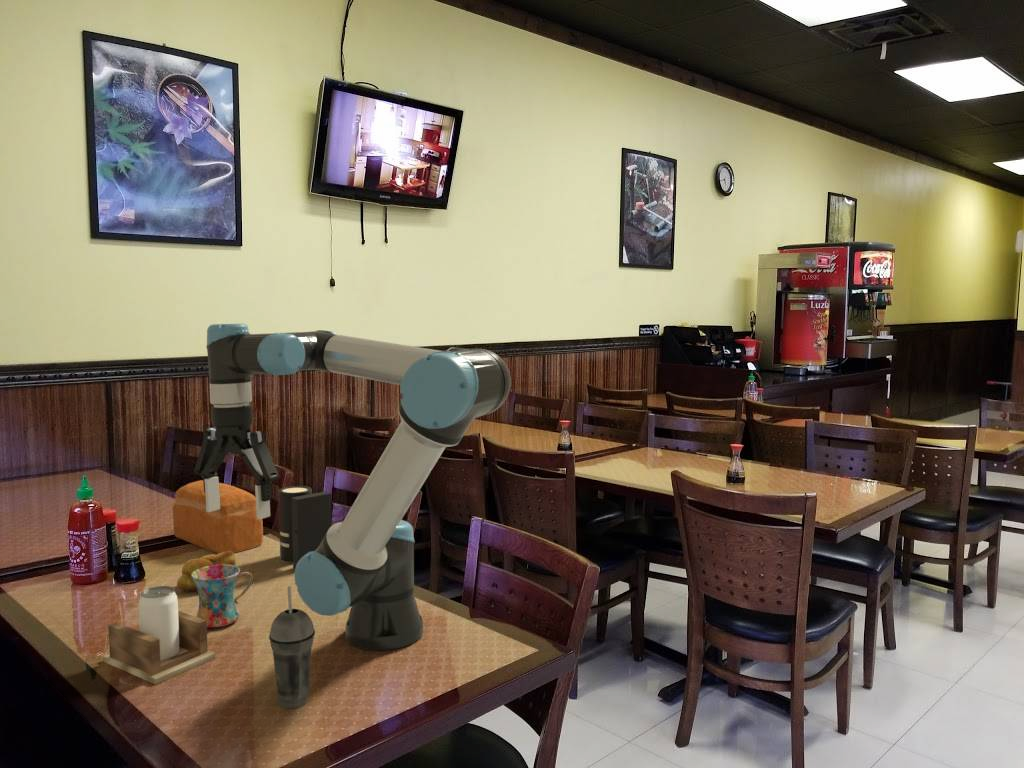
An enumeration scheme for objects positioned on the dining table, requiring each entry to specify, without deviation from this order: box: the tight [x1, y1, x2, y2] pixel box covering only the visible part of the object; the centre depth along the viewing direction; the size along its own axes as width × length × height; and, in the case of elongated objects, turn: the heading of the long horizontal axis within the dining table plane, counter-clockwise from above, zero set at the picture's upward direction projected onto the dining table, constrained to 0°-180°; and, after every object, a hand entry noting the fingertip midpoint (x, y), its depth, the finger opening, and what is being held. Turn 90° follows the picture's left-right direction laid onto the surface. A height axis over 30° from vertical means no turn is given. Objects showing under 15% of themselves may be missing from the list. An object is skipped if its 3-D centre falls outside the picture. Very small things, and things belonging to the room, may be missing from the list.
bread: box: [172, 479, 264, 554], centre depth 214 cm, size 14×26×16 cm, turn 51°
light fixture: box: [278, 485, 333, 570], centre depth 199 cm, size 10×14×18 cm
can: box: [138, 585, 179, 661], centre depth 144 cm, size 6×6×12 cm
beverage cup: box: [268, 585, 316, 709], centre depth 129 cm, size 7×7×20 cm
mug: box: [191, 564, 254, 629], centre depth 162 cm, size 12×9×11 cm
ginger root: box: [176, 551, 237, 592], centre depth 181 cm, size 13×10×8 cm
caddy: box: [102, 610, 216, 685], centre depth 144 cm, size 16×12×7 cm
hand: (238, 514), depth 152 cm, fingers open, 13 cm apart
